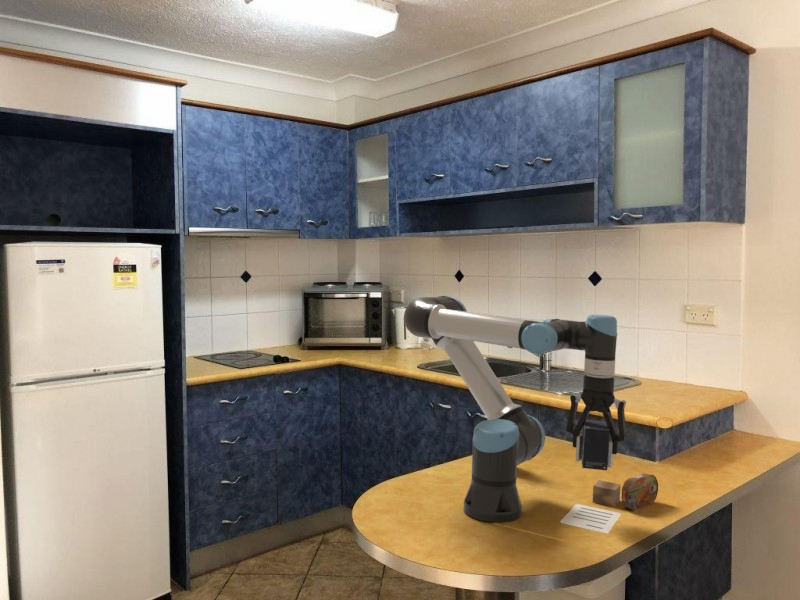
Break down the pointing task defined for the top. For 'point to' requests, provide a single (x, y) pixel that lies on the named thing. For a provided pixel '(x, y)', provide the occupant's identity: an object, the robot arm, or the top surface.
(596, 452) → the small box
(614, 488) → the walnut block
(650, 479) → the tin
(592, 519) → the letter
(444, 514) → the top surface
